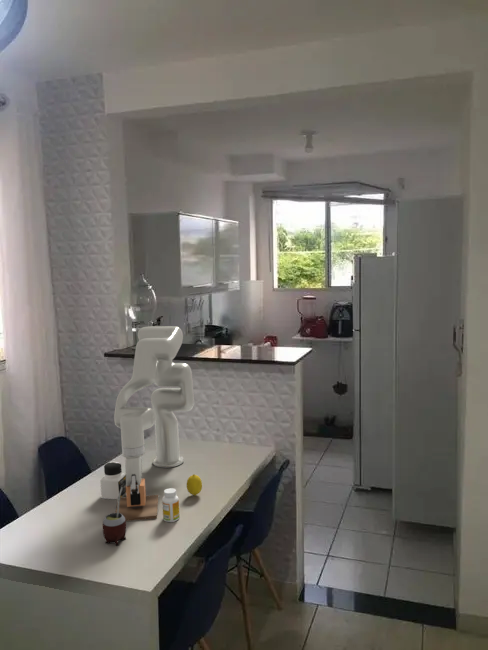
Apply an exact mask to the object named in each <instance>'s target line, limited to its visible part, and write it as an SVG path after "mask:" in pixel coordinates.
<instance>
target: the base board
mask: <svg viewBox="0 0 488 650" xmlns="http://www.w3.org/2000/svg"><path fill="white" fill-rule="evenodd" d="M117 506H118V502H117V503H116V507H115V512H114V513H117ZM158 508H159V494H151V495H146V502H145V505H143V506H141V508H135V509H132V506H131V507H127V498H126V497H124V496H122V497H121V498H120V503H119V513H120V514H122V515H123V516H124V517H125V520H126V522H130V521H144V520H154V519H155V520H156V519H157V518H158Z"/></svg>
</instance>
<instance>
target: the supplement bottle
mask: <svg viewBox="0 0 488 650" xmlns="http://www.w3.org/2000/svg"><path fill="white" fill-rule="evenodd" d="M161 501H162V502H161V504H162V519H163V521H165V522H167V523H172V522H173V523H174V522H177V521H179V519H180V500H179V496H178V495H177V489H176V488H173V487H171V488H166V489H164V490H163V497H162V498H161Z"/></svg>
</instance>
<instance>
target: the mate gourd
mask: <svg viewBox="0 0 488 650" xmlns="http://www.w3.org/2000/svg"><path fill="white" fill-rule="evenodd" d="M122 488H123V487H121V489H120V492H119V496H118V499H117V503H118V506H117V505H116V507H117V513H115V512H112V513H109V514H106V515H105V517H104V519H103V520H102V533H103V537H104V540H105V541H104V543H105V545H108V544H112V543H114V544H115V546H116V547H118V546H120V545H119V542H121V541H124V540H126V539H127V537H126V533H127V521H126V520H125V517H124V516H123V515H122V514H120V513H119V503H120V495H121V491H122Z"/></svg>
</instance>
